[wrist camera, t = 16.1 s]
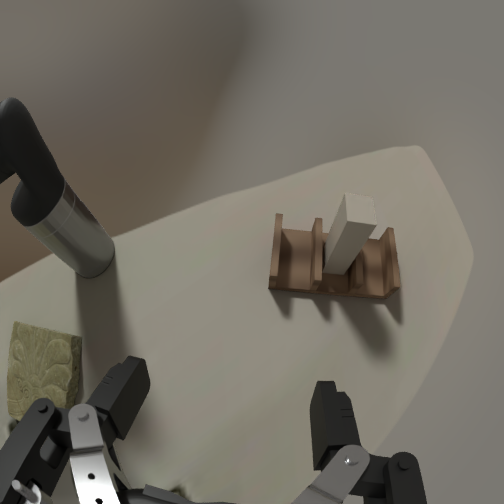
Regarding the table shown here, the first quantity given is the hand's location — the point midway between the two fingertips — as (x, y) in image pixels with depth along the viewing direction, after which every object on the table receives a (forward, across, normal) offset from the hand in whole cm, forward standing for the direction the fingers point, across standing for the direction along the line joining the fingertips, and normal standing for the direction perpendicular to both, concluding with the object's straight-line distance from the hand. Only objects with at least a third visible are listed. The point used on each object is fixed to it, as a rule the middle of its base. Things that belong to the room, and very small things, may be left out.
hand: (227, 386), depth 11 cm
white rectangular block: (+31, -11, +4) cm, 33 cm away
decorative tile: (+12, +36, +25) cm, 45 cm away
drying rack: (+32, -11, +5) cm, 34 cm away
